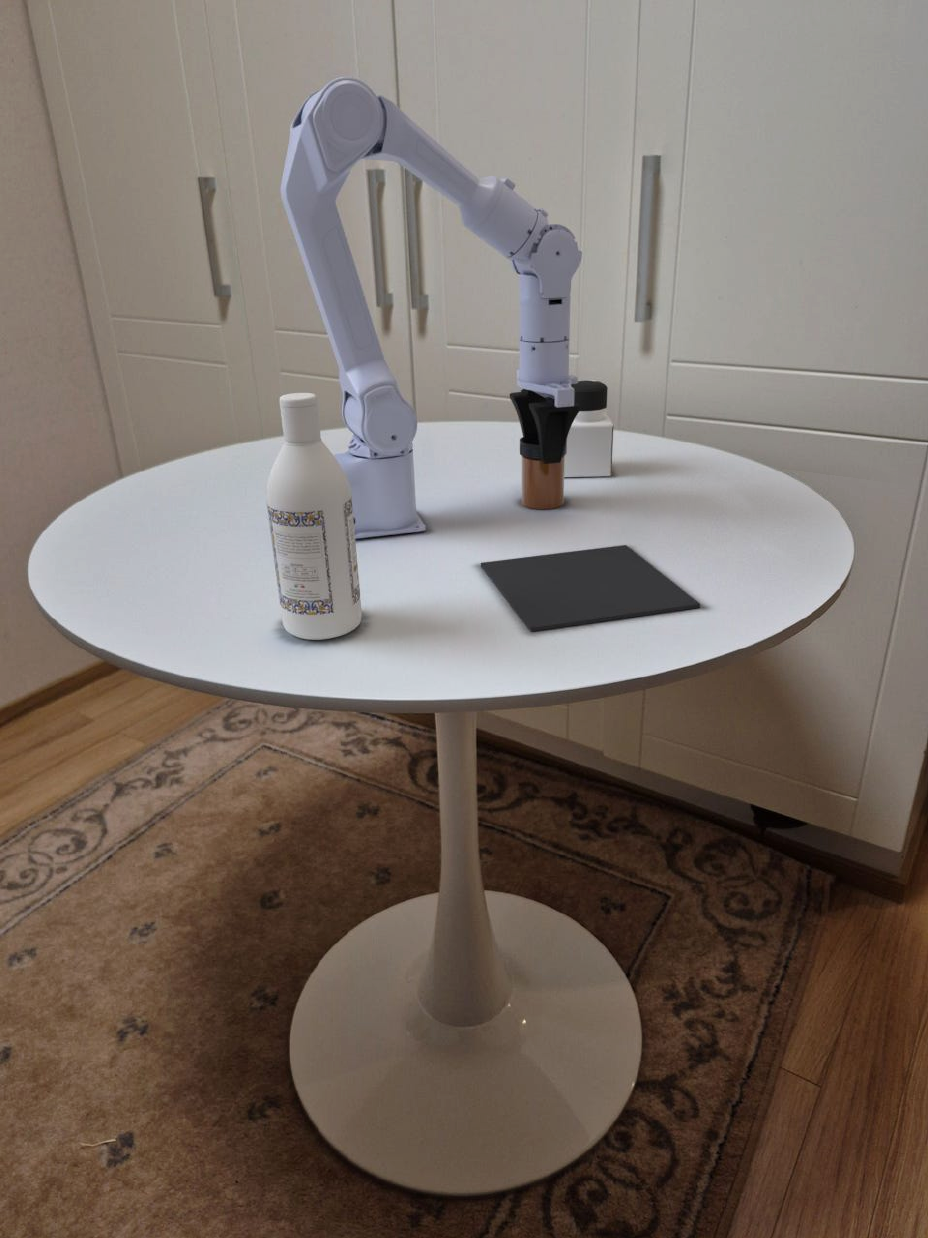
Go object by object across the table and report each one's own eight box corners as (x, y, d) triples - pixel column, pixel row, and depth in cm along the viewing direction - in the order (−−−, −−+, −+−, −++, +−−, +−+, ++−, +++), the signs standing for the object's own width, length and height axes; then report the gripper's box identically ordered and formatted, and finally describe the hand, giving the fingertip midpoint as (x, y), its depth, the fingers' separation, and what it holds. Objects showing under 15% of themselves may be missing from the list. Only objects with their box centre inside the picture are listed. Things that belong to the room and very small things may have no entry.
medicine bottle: (611, 476, 116) (615, 385, 111) (558, 478, 116) (560, 387, 111) (604, 463, 122) (608, 376, 117) (554, 464, 122) (555, 377, 117)
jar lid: (527, 461, 101) (527, 446, 100) (513, 450, 105) (513, 436, 105) (573, 456, 102) (573, 442, 101) (557, 445, 107) (557, 432, 106)
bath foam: (332, 602, 80) (310, 384, 72) (378, 623, 76) (359, 394, 67) (268, 625, 76) (236, 397, 68) (312, 650, 72) (284, 408, 63)
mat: (530, 631, 74) (530, 627, 73) (480, 566, 88) (480, 562, 87) (699, 607, 77) (700, 603, 77) (625, 548, 91) (625, 544, 91)
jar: (529, 510, 103) (529, 450, 100) (516, 498, 108) (516, 440, 105) (569, 506, 105) (571, 446, 101) (555, 494, 109) (556, 436, 106)
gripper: (601, 344, 92) (597, 468, 98) (555, 330, 105) (553, 440, 111) (539, 349, 91) (538, 474, 97) (500, 333, 104) (501, 445, 109)
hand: (543, 456), depth 104 cm, fingers closed on jar lid, 5 cm apart
